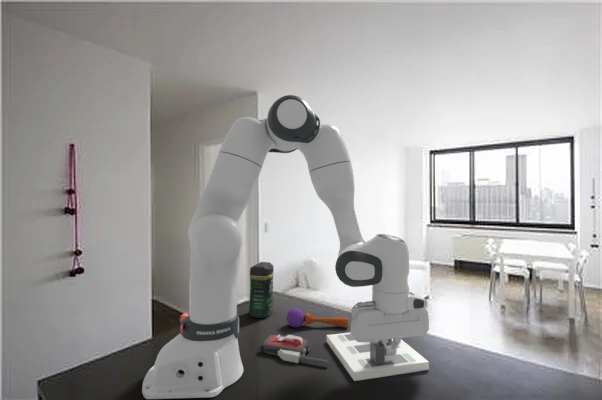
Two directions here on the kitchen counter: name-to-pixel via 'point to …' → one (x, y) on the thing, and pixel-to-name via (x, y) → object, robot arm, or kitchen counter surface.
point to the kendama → (312, 319)
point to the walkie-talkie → (289, 348)
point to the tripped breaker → (377, 352)
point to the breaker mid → (388, 342)
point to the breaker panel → (363, 367)
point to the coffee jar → (261, 290)
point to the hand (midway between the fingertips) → (389, 354)
